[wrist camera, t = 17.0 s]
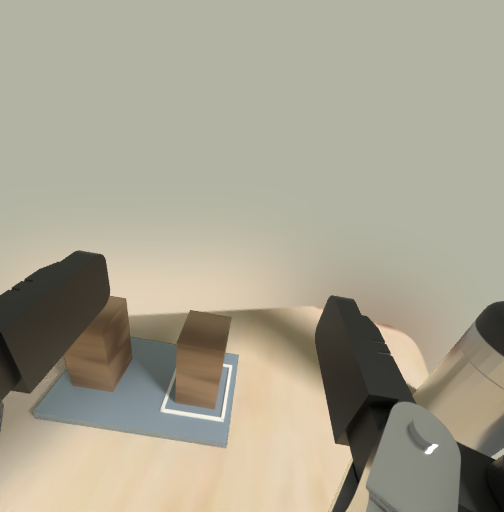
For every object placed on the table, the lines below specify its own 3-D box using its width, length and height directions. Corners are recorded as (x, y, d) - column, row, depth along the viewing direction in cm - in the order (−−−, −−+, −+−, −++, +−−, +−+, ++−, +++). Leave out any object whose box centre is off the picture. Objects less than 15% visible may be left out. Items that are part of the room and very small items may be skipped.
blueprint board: (98, 336, 39) (96, 330, 38) (237, 359, 39) (238, 354, 39) (34, 418, 28) (31, 411, 28) (225, 448, 29) (227, 442, 28)
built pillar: (97, 352, 35) (84, 291, 30) (132, 358, 35) (126, 298, 30) (72, 385, 31) (52, 321, 25) (113, 392, 31) (101, 329, 26)
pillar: (187, 367, 36) (190, 310, 30) (221, 373, 36) (231, 317, 30) (175, 403, 31) (176, 343, 26) (214, 409, 31) (224, 351, 26)
